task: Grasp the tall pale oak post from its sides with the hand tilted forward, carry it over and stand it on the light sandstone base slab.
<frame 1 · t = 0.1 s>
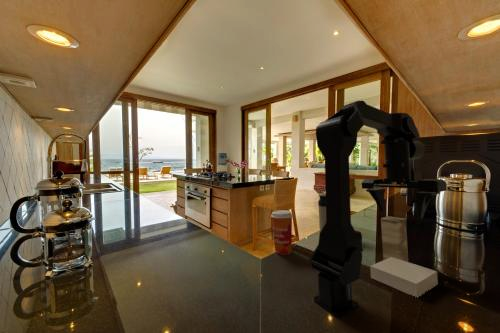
hand: (400, 215, 57), 15 cm above the countertop, tool pointing down, fingers open, 9 cm apart
base slab: (403, 280, 50), on the countertop
oak post: (395, 262, 60), on the countertop
travel mug: (329, 237, 86), on the countertop
paper cup: (283, 252, 71), on the countertop
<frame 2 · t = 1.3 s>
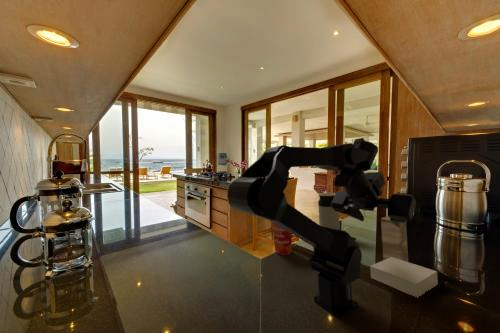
hand: (380, 222, 56), 13 cm above the countertop, tool tilted 45°, fingers open, 9 cm apart
nothing on the countertop moved.
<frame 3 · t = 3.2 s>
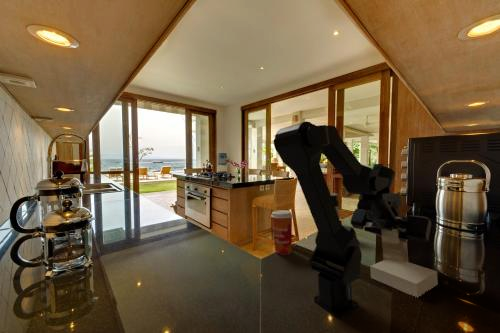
hand: (396, 239, 61), 7 cm above the countertop, tool tilted 45°, fingers closed on oak post, 5 cm apart
oak post: (395, 262, 60), on the countertop, touching gripper
everything else where it was.
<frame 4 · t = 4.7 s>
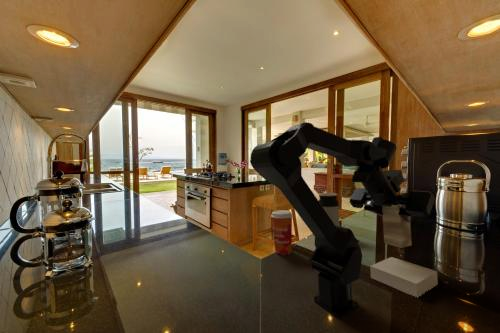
hand: (398, 219, 57), 13 cm above the countertop, tool tilted 45°, fingers closed on oak post, 5 cm apart
oak post: (397, 244, 56), point 7 cm above the countertop, touching gripper
everything else where it was.
when the fingers open (10 cm above the countertop, at t = 6.2 s): oak post stays where it is, resting on base slab.
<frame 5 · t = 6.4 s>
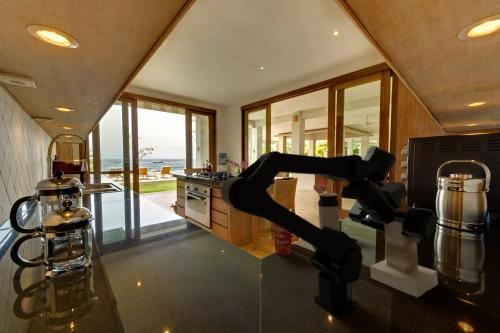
hand: (404, 237, 51), 11 cm above the countertop, tool tilted 45°, fingers open, 6 cm apart
oak post: (402, 268, 51), point 3 cm above the countertop, touching base slab
everything else where it was.
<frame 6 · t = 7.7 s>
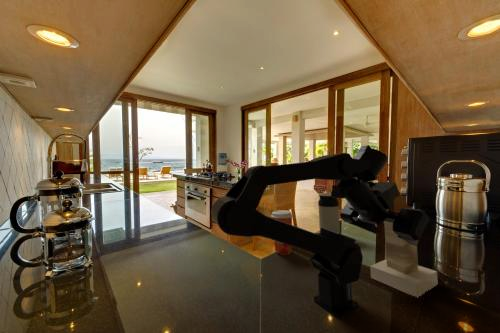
hand: (395, 238, 50), 11 cm above the countertop, tool tilted 45°, fingers open, 9 cm apart
nothing on the countertop moved.
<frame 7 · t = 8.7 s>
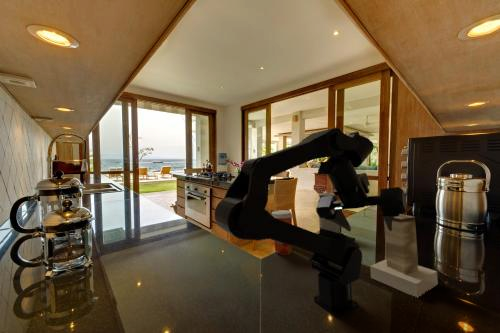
hand: (369, 229, 50), 13 cm above the countertop, tool tilted 35°, fingers open, 9 cm apart
nothing on the countertop moved.
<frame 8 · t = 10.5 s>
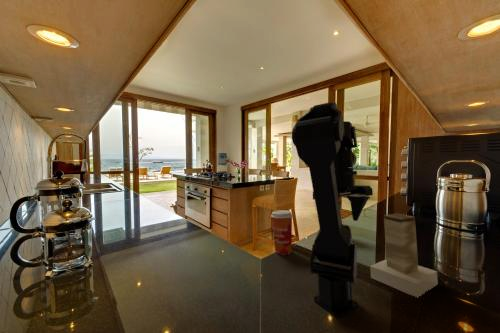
hand: (344, 223, 58), 13 cm above the countertop, tool pointing down, fingers open, 9 cm apart
nothing on the countertop moved.
at the end: oak post inside the target area on the base slab (0.0 cm from its centre), point 3.0 cm above the base slab's base; oak post tilted 0°; the gripper is holding nothing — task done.
